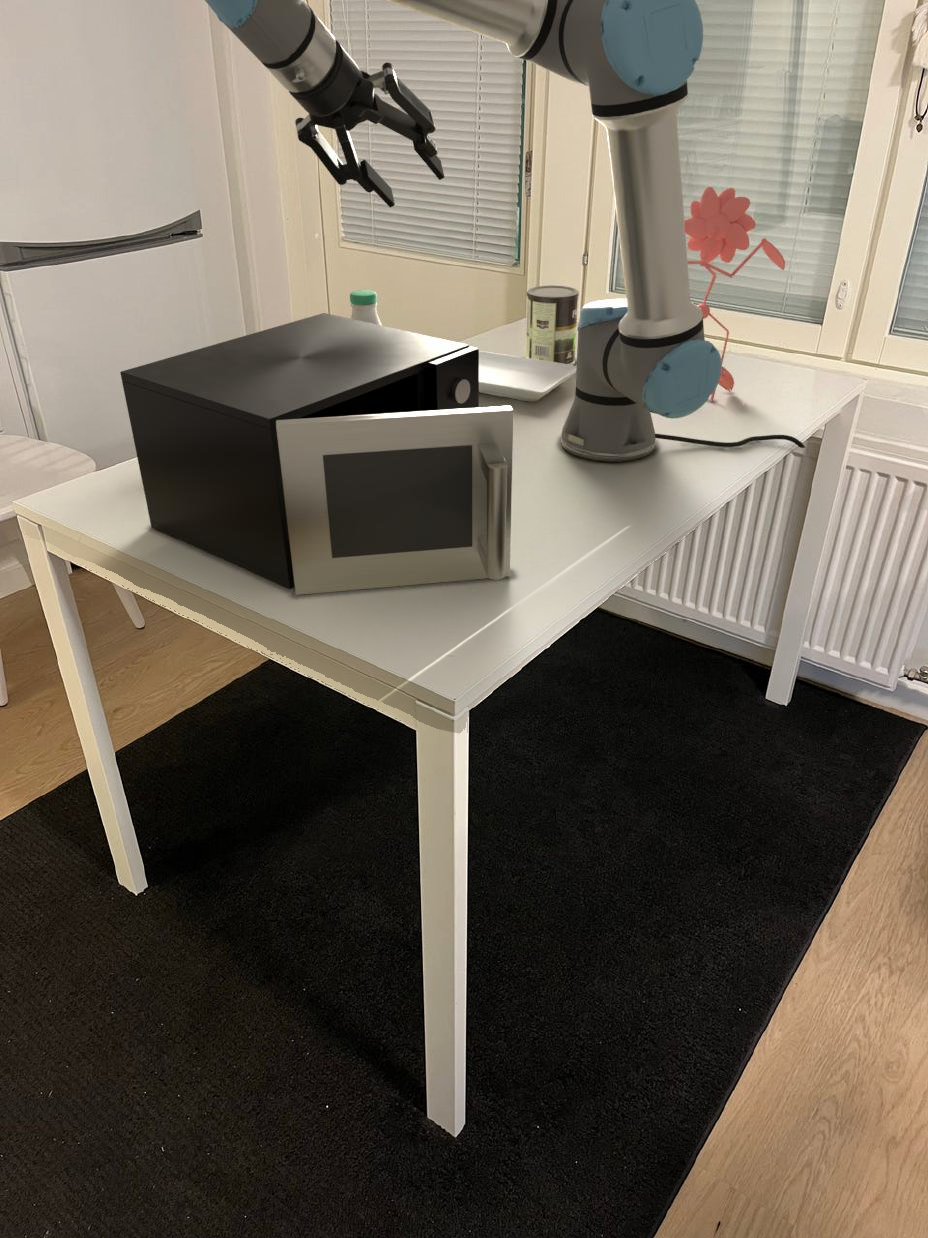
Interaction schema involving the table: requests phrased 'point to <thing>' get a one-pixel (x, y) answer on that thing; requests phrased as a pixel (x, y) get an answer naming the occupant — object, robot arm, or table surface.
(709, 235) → the figurine
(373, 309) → the milk bottle
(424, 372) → the microwave
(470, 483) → the microwave door
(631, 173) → the robot arm
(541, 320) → the coffee can
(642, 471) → the table surface
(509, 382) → the tray
